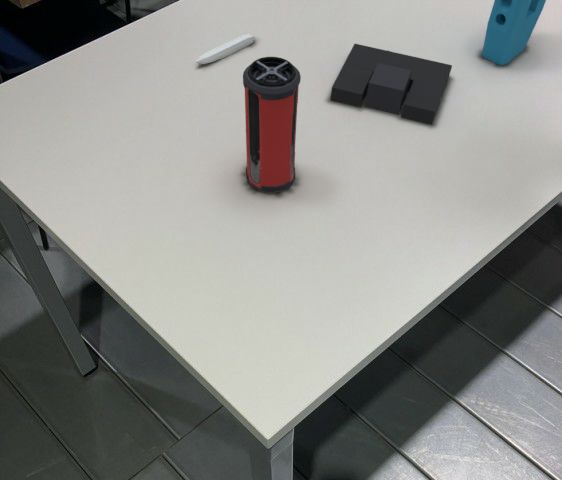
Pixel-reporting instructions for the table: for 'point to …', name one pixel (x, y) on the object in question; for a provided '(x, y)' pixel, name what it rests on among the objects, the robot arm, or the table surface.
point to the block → (510, 28)
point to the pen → (226, 49)
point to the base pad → (425, 73)
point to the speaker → (271, 122)
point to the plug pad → (388, 88)
